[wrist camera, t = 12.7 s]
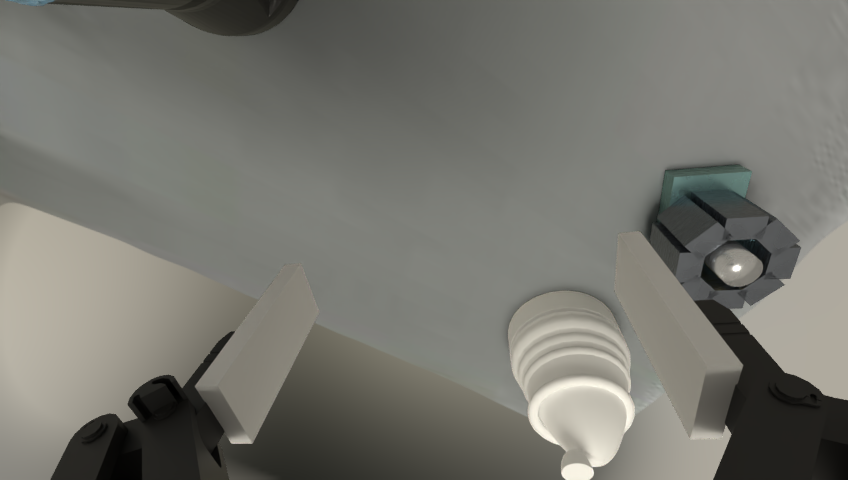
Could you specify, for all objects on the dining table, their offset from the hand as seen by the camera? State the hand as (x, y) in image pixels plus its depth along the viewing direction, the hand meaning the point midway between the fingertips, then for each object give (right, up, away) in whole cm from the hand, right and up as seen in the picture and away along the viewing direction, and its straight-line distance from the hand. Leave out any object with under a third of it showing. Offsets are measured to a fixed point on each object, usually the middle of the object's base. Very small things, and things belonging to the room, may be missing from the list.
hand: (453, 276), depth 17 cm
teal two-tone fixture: (+26, +3, +24) cm, 35 cm away
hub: (+26, +2, +22) cm, 34 cm away
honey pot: (+16, -10, +32) cm, 37 cm away
